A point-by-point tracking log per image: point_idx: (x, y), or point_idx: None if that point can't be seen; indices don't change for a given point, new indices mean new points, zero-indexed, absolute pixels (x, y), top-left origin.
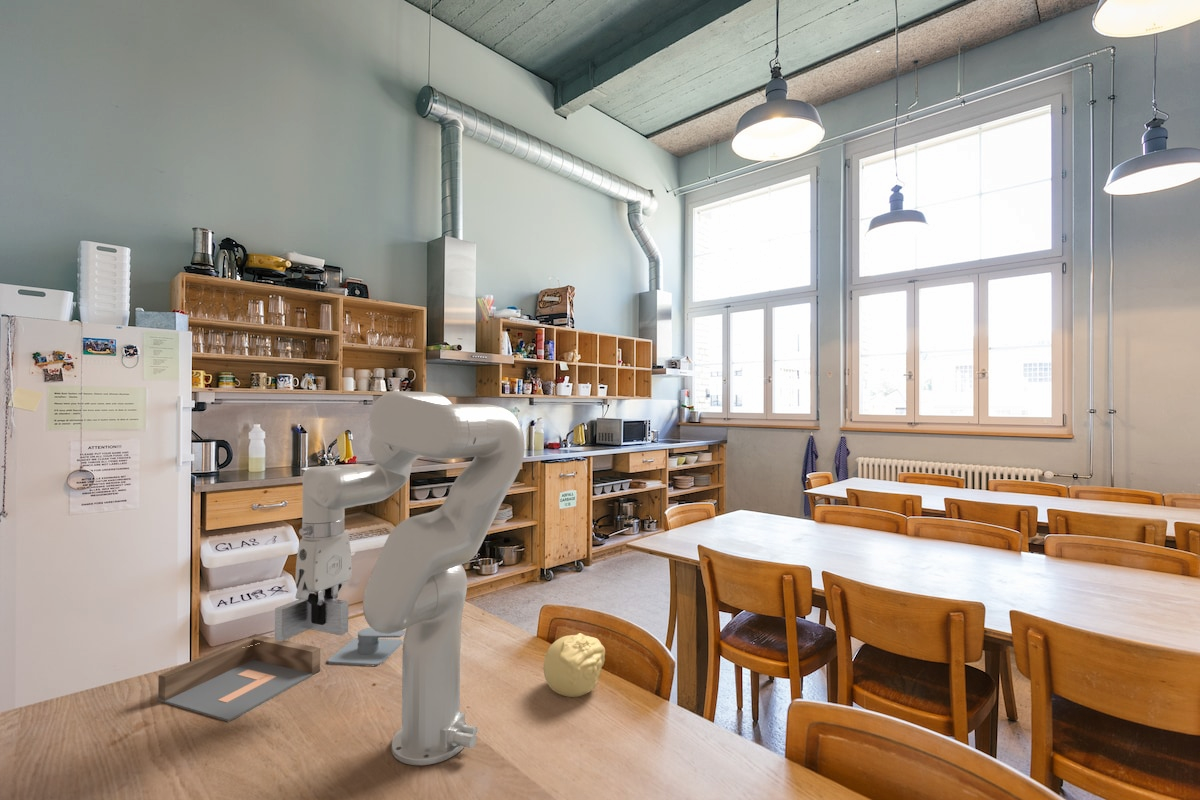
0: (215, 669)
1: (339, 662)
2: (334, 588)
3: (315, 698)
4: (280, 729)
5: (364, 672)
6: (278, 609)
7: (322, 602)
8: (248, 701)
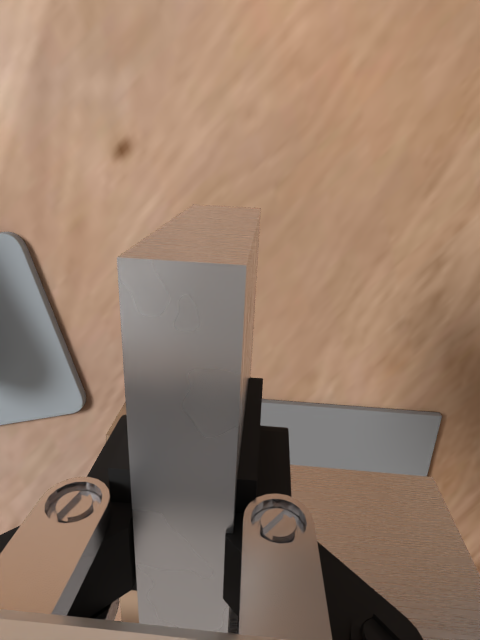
0: None
1: (71, 368)
2: (42, 593)
3: (268, 280)
4: (449, 246)
5: (75, 247)
6: None
7: (254, 511)
8: (348, 440)
